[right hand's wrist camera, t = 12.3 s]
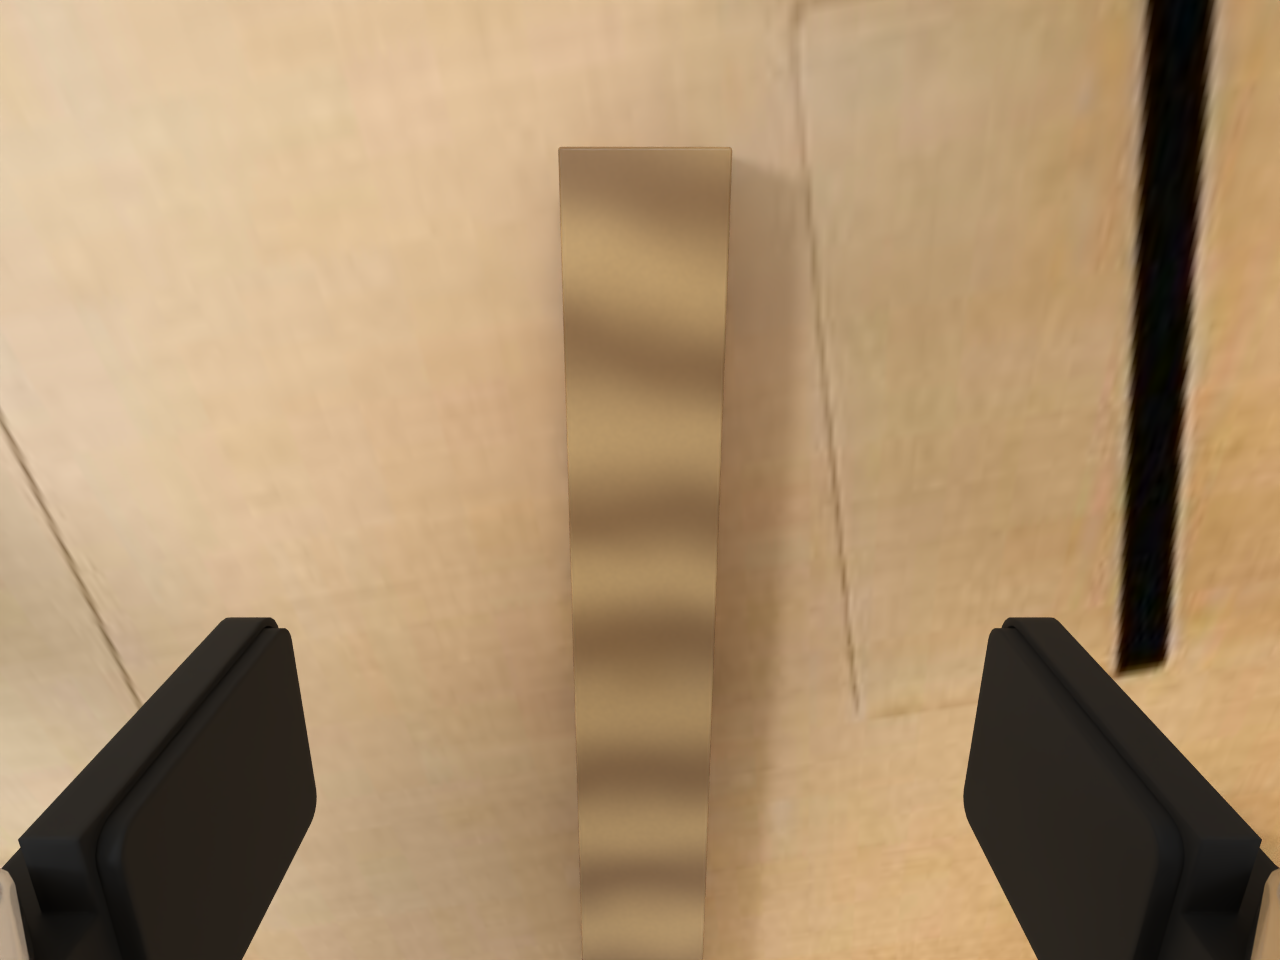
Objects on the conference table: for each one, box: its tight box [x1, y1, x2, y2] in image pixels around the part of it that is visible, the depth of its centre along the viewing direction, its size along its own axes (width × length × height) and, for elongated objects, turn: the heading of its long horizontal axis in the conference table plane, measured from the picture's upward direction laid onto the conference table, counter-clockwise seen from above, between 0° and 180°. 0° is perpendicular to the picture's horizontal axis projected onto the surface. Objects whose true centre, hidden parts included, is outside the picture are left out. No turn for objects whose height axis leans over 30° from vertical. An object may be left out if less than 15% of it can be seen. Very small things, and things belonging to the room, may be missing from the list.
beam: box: [558, 147, 732, 960], centre depth 39 cm, size 51×6×6 cm, turn 0°
